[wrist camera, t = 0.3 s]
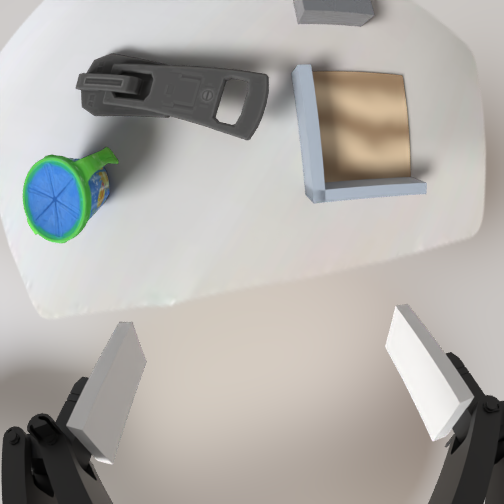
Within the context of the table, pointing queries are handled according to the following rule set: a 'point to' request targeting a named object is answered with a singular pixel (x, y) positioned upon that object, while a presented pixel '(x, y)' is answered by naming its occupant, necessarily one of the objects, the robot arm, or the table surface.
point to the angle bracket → (333, 12)
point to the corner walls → (314, 161)
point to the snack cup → (65, 193)
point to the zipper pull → (169, 92)
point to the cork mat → (362, 125)
